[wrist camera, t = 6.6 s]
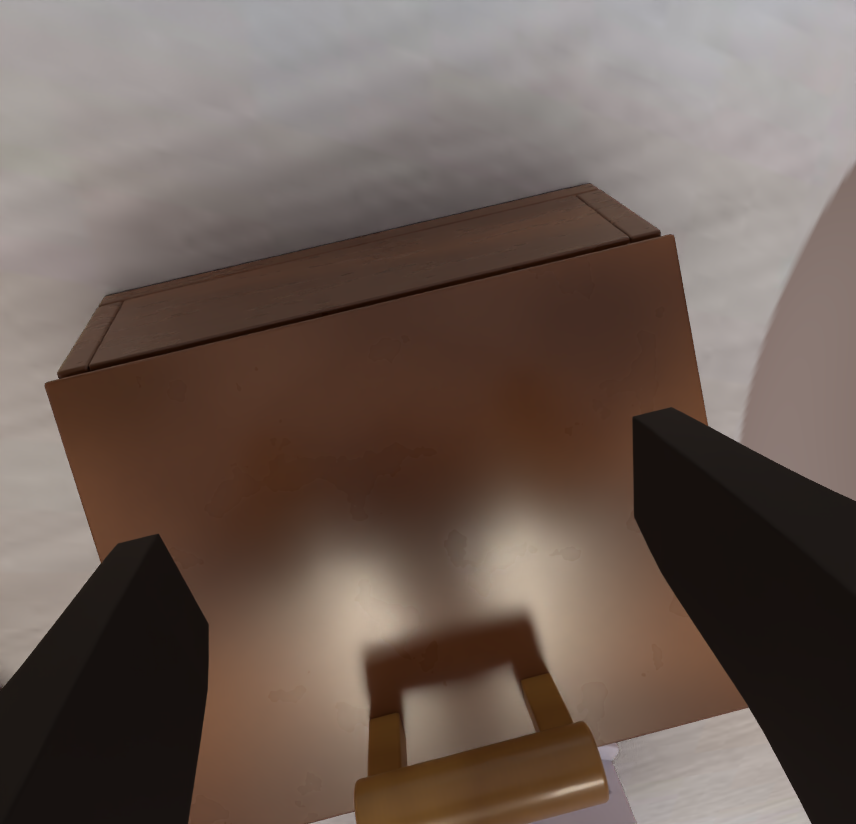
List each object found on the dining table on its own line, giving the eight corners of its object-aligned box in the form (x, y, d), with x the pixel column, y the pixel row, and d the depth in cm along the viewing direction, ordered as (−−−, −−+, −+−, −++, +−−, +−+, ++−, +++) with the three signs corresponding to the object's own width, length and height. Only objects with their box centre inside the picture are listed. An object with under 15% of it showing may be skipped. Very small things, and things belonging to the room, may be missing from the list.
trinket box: (604, 475, 24) (658, 561, 21) (235, 567, 24) (223, 672, 20) (591, 181, 18) (661, 229, 15) (103, 295, 18) (54, 373, 14)
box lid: (746, 692, 16) (861, 809, 12) (199, 835, 16) (139, 1005, 12) (663, 236, 15) (766, 204, 11) (55, 380, 14) (-68, 402, 10)
